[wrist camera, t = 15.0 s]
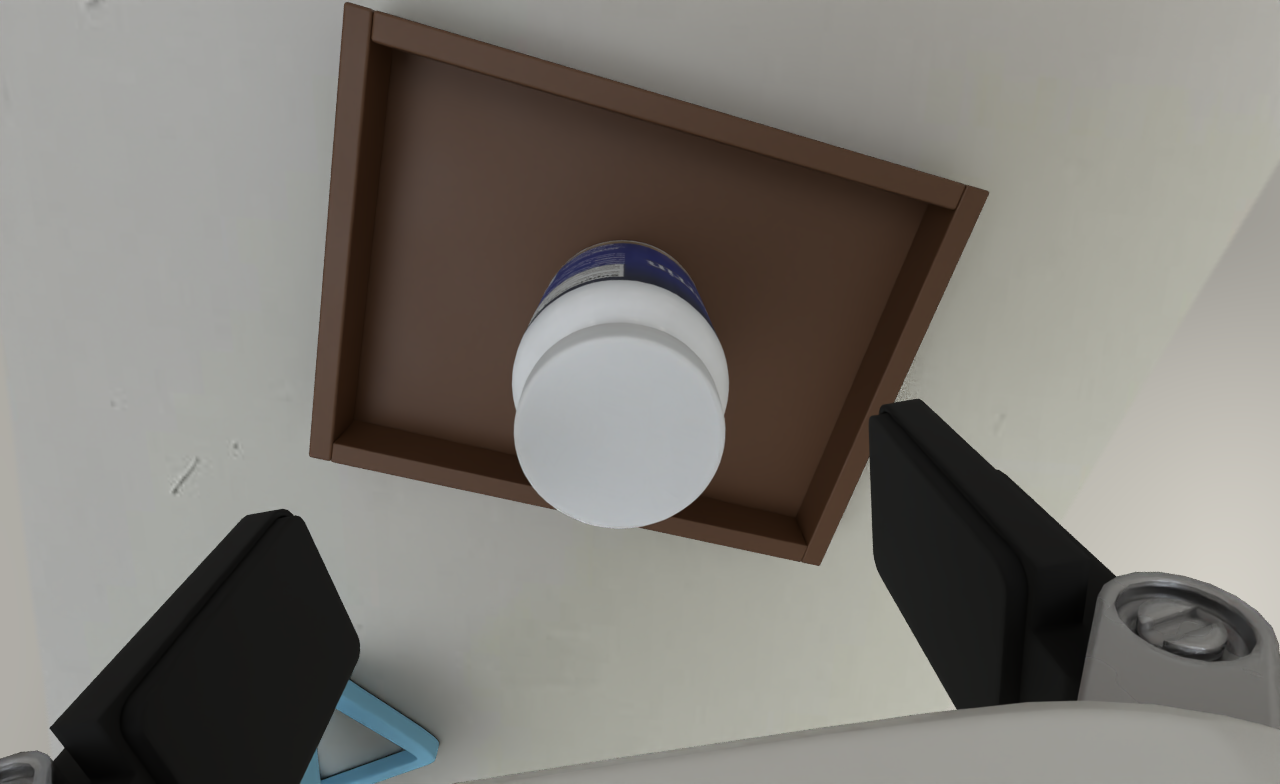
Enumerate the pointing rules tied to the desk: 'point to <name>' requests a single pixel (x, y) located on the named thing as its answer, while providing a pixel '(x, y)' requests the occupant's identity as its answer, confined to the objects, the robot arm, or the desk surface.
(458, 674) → the desk surface
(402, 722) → the chair
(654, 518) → the pill bottle
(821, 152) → the tray
